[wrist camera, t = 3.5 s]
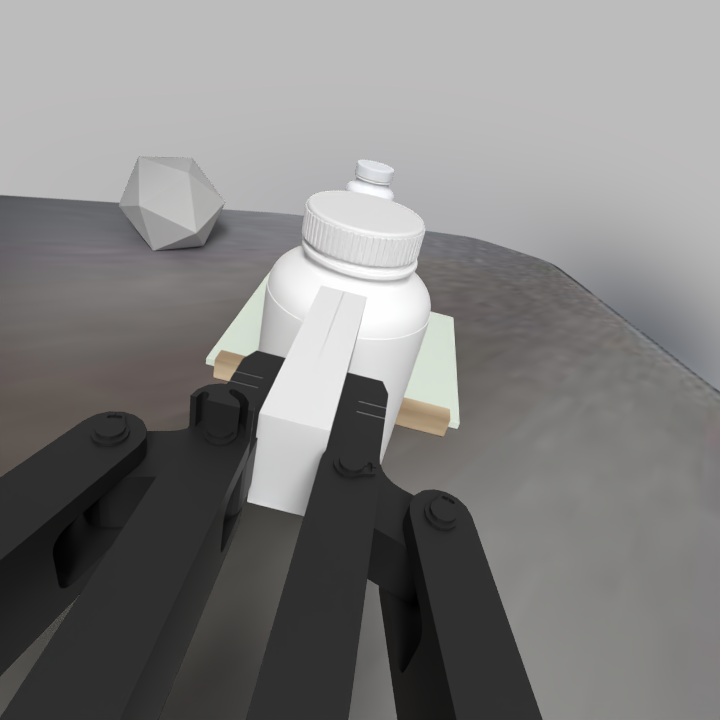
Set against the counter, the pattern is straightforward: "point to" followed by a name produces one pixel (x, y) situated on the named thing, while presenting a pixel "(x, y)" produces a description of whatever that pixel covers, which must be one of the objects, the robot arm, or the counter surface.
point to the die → (171, 202)
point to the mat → (429, 374)
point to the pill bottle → (356, 286)
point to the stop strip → (408, 415)
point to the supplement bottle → (372, 179)
